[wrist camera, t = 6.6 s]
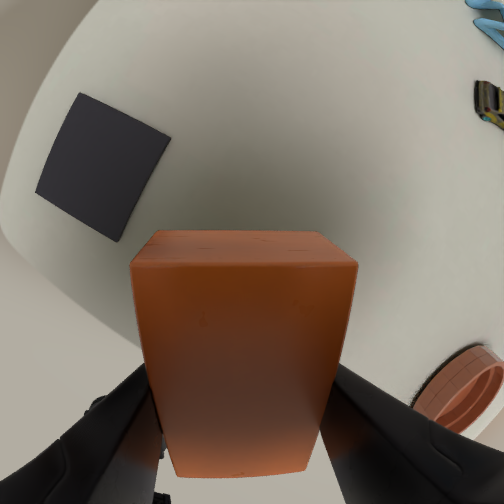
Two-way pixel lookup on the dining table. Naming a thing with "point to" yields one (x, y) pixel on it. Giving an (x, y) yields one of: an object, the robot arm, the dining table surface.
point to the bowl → (462, 389)
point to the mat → (100, 165)
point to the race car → (490, 102)
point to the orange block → (241, 344)
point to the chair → (488, 26)
